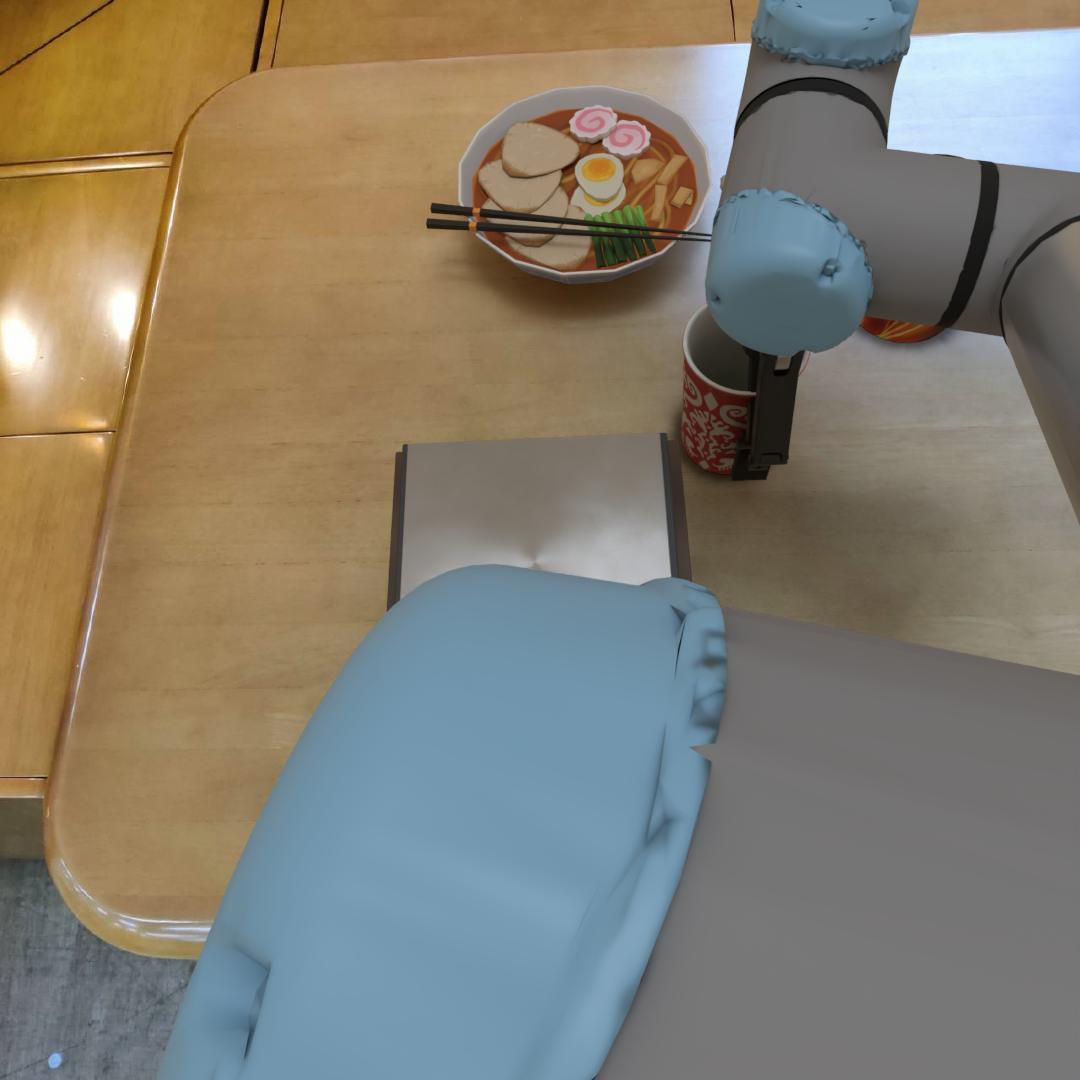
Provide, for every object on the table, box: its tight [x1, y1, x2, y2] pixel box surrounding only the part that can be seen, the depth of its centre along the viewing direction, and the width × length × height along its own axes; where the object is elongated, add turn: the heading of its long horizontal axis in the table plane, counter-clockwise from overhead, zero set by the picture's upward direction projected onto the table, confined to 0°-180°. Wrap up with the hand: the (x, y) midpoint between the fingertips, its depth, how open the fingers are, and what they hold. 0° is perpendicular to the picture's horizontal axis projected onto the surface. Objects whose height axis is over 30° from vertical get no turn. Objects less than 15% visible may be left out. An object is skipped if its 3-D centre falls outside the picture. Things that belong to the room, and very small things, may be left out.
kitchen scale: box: [394, 432, 680, 605], centre depth 53 cm, size 20×16×3 cm
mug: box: [680, 302, 811, 475], centre depth 73 cm, size 13×9×14 cm
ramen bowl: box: [425, 84, 714, 285], centre depth 85 cm, size 25×23×8 cm
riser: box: [386, 439, 693, 612], centre depth 62 cm, size 22×18×18 cm
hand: (739, 404), depth 77 cm, fingers open, 13 cm apart
